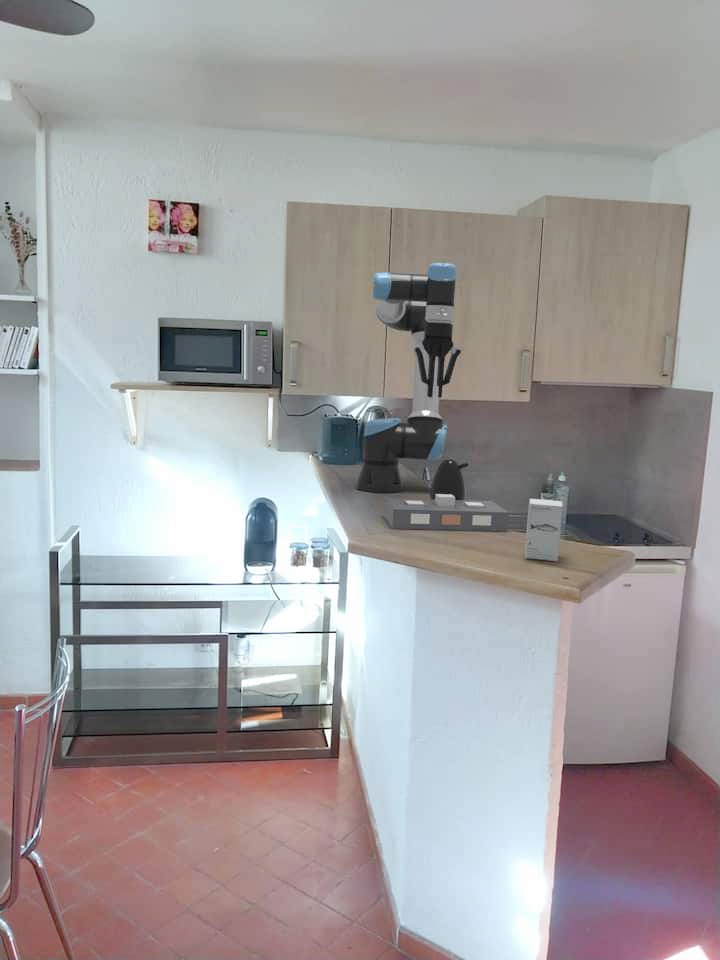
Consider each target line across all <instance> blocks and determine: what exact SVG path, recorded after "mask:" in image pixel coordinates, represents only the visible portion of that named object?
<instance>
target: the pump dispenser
mask: <svg viewBox="0 0 720 960" xmlns="http://www.w3.org/2000/svg"><path fill="white" fill-rule="evenodd" d="M468 466H469V462H465V463H460V464H459V463H458V461H456V460H455V459H453V458H446V459H444V460H442V461H441V462H440V464H439V466H438V468H436V472H435V474H434V477H433V479H432V483H431V487H430V492H429V499H435V494H451V495H453V496H454V497H455V500H466V495H467V494H466V493H467V492H466V484H465V483H466V482H465V478H464V475H463V471H462V469H465V468H467V467H468Z"/></svg>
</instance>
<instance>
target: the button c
mask: <svg viewBox="0 0 720 960" xmlns="http://www.w3.org/2000/svg"><path fill="white" fill-rule="evenodd" d="M464 505H465V506H466V507H470V508H485V506H484V505H483V504H482V503H477V502H464Z"/></svg>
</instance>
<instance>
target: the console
mask: <svg viewBox="0 0 720 960" xmlns="http://www.w3.org/2000/svg"><path fill="white" fill-rule="evenodd" d="M383 498H384V499H383V513H382V515H383V518H384V519H385V521H386V522H387V523H388V525H389V527H390V528H391V529H392V530H426V531H431V530H432V531H435V530H436V531H440V530H441V531H473V532H474V531H475V532H499V531H498V530H501V531H500V532H508V528H509V526H508V525H509V516H510V515H509V513H510V512H509V511H508V510H506V509H504V508H503V507H501V506H500V505H499V504H497V503H495V502H494V501H492V500H470V499H469V500H466V499H465V500H455V507H437V506H436V505H435V499H431V498H425V499H423V498H393V497H389V498H388V497H383ZM405 501H422V502H423V503H424V504H425V506H407V505H406V504H405ZM464 502H477V503H482V504H483V505H484V506H485V508H470V507H466V506H465V505H464ZM494 529H495V530H494Z"/></svg>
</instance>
